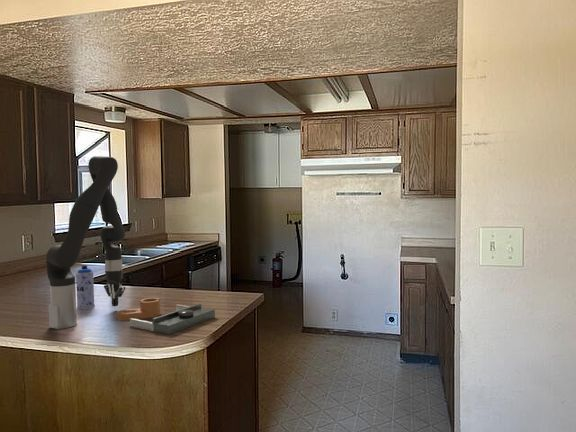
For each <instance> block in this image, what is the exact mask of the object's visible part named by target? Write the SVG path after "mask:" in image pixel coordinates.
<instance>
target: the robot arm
mask: <svg viewBox="0 0 576 432" xmlns="http://www.w3.org/2000/svg"><path fill="white" fill-rule="evenodd" d="M118 164H119V163H118V161H117V160H116V158H114V157H113V156H105V155H93V156H92V157H90V159H89V160H88V165H87V167H88V170H89V174H90V177H91V181H92V183H91V184H90V185H89V186H88V187H87V188H86V189H85V190H84V191H83V192H82V193H81V194H80V195H79V196H78V197H77V198H76V199H75V201H74V203H73V205H72V208H71V210H70V213H69V217H68V230H67V233H66V236H65V238H64V240H63V242H62V243H61V244H55V245H53V246H51V247H50V248H49V249H48V250H47V253H46V258H45V259H46V260H45V261H46V262H45V263H46V272H47V274H46V275H47V279H48V281H49V293H50V303H49V304H48V320H49V321H48V323H49V325H48V326H49V328H51V329H54V330H55V329H56V330H61V329H69V328H72V327H75V326H76V325H78V321H77V320H78V318H77V287H76V276H75V275H74V274H73V273H72V271H71V268H72V267H74V265H75V264H76V263H77V261H78V259H79V256H80V253H81V250H82V247H83V243H84V241H85V238H86V235H87V234H88V232H89V229H90V227H91V224H92V222H93V220H95V219H94V218H95V216H96V214H97V212H98V209H99V207H100V209H99V210H100V215H101V221H102V222H104V223H105V224H109V226H107V225H106V226H103V227H102V228H101V229H100V233H99V234H100V239H101V242H102V245H103V250H104V253H105V255H104V258H105V260H104V262H105V263H104V273H105V277H104V278H105V280H106V281H107V282H106V284H104V285H103V288H104V290H105V292H106V294H107V296H108V297H110V299H111V307H118V306H119V298H122V295H124V292H125V290H126V286H123V282H122V279H123V278H124V275H123V274H124V271H123V259H122V258H123V257H122V254H123V253H122V247H120V246H118V245H114V244H113V242H122V241H123V240H124V239H125V237H126V230H125V228H124V226H123V224H122V222H121V219H120V217H119V211H118V205H117V201H116V200H115V199H116V198H115V196H113V194H112V192H111V190H110V188H109V187H110V185H111V183H112V181H113V180H114V178H115V176H116V174H117V172H118V168H119V165H118Z"/></svg>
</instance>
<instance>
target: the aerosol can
mask: <svg viewBox="0 0 576 432" xmlns="http://www.w3.org/2000/svg"><path fill="white" fill-rule="evenodd" d="M94 285H95V284H94V271H93V270H92V269H91V268H89V267H88V265H81V268H80V269H79V270H78V271H77V272H76V273H75V286H76V309H78V310H87V309H92V308H94V307H95V306H96V305H95V289H94V287H95V286H94Z"/></svg>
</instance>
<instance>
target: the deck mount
mask: <svg viewBox="0 0 576 432" xmlns="http://www.w3.org/2000/svg"><path fill="white" fill-rule="evenodd" d="M214 318H216V309H215V308H207V307H202V303H195V304H194V305H191V306H189V305H184V304H178V303H177V304H175V311H172V312H168V313H166V314H163V315H159V316H156V317H152V320H151V321H148V320H143V319H134V318H131V319H130V320H129V327H132V328H136V329H142V330H147V331H151V332H155V333H159V334H164V335H167V336H170V335H172V334H175V333H178V332H180V331H183V330H185V329H188V328H191V327H193V326H196V325H199V324H201V323H204V322H206V321H210V320H211V319H214Z"/></svg>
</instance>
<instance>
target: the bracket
mask: <svg viewBox="0 0 576 432" xmlns="http://www.w3.org/2000/svg"><path fill="white" fill-rule="evenodd" d="M160 300H161V299H160V298H159V297H146V298H143V299H141V300H139V303H140V306H139V307H137V308H126V309H121V310H118V311H116V319H117V320H118V321H130V319H131V318H134V319H138V320H142V319H149V318H156V317H159V316H161V303H160Z"/></svg>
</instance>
